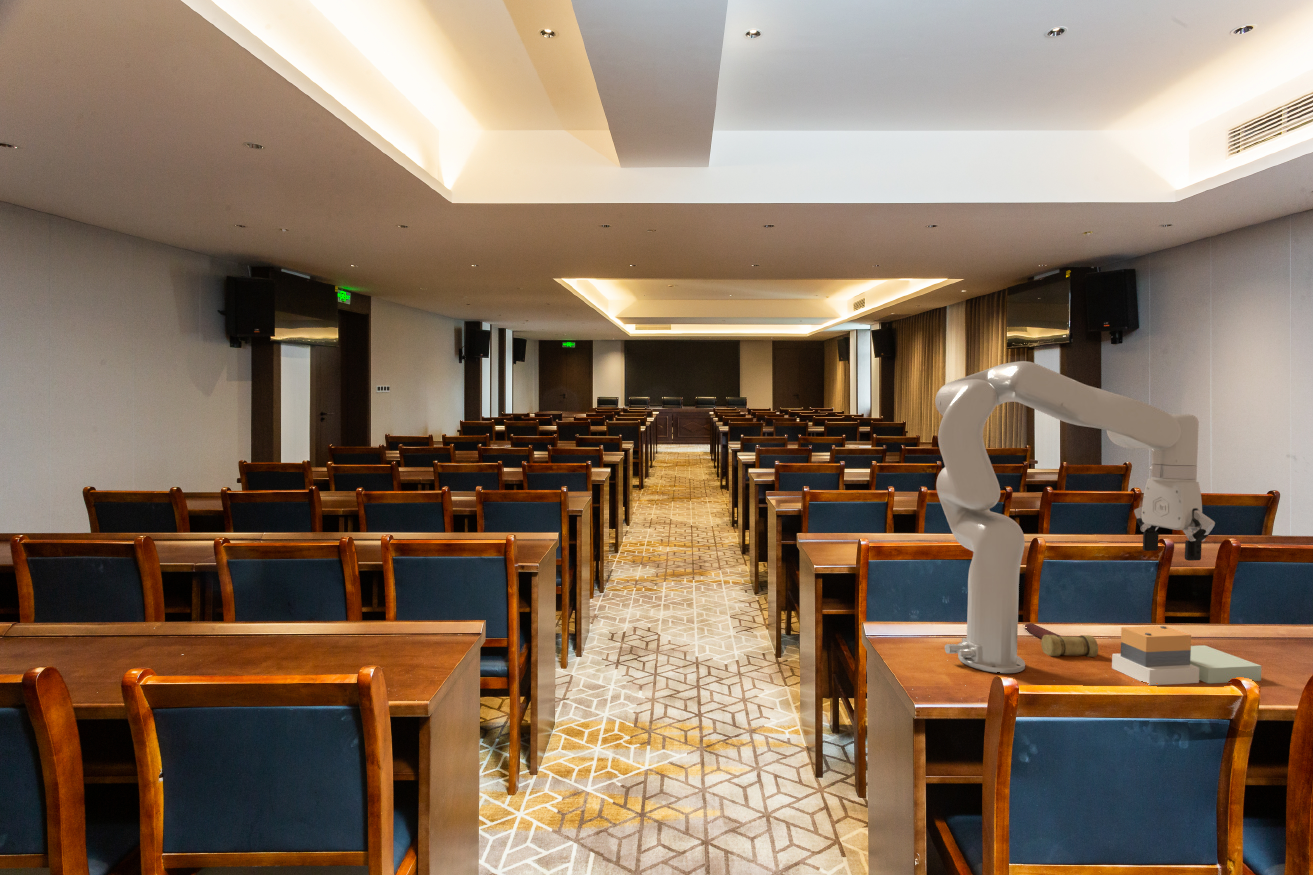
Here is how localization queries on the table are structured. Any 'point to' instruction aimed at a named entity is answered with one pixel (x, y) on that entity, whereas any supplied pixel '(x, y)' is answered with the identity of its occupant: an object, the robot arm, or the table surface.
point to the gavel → (1064, 643)
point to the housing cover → (1155, 638)
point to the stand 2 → (1222, 665)
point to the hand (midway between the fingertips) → (1170, 555)
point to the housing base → (1155, 657)
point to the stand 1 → (1156, 672)
